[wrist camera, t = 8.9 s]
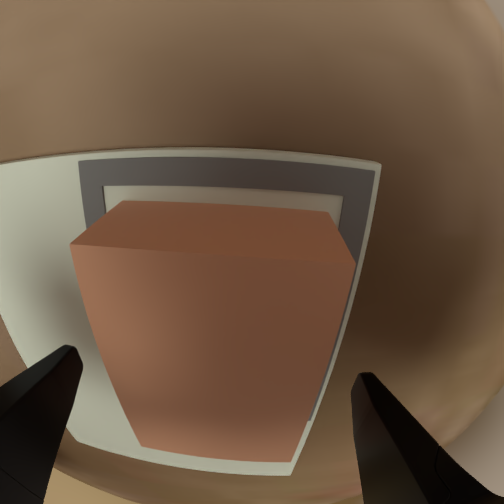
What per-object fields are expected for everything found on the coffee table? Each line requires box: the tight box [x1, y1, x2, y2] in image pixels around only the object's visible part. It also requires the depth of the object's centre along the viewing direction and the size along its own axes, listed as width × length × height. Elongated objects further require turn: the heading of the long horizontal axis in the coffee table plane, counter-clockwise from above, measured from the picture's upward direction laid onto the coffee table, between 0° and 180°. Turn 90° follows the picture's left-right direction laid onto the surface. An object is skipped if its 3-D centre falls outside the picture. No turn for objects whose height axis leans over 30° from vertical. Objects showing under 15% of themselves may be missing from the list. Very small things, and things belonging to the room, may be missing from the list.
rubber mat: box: [0, 147, 382, 476], centre depth 13 cm, size 20×16×1 cm
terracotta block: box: [69, 201, 356, 462], centre depth 9 cm, size 6×9×3 cm, turn 177°
